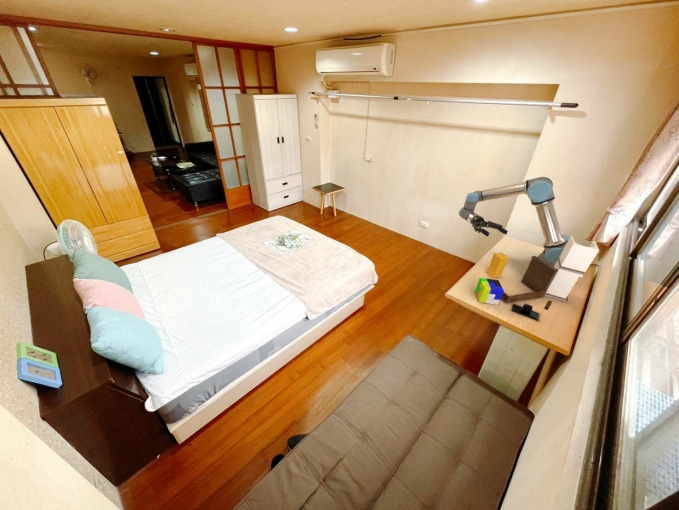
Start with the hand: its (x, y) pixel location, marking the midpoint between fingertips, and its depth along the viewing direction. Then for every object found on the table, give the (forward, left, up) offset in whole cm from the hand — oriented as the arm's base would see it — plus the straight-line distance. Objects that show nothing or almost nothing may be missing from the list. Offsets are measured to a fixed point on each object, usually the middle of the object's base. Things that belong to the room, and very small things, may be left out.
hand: (497, 233), depth 167 cm
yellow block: (0, +9, -26) cm, 27 cm away
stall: (0, +27, -26) cm, 37 cm away
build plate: (+8, +43, -26) cm, 51 cm away
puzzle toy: (+21, +28, -26) cm, 43 cm away
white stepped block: (-23, +33, -26) cm, 48 cm away
